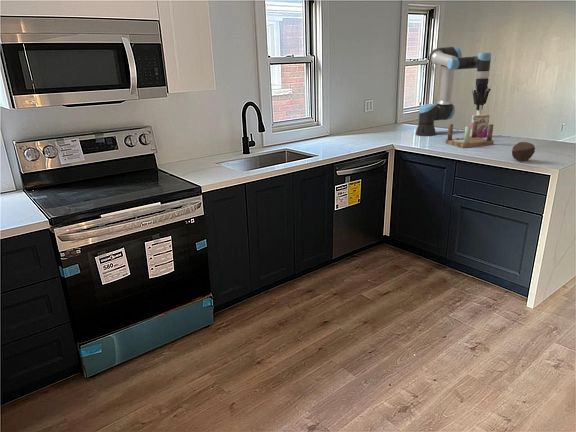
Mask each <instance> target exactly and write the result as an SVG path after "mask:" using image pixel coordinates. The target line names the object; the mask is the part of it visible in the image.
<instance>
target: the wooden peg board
mask: <svg viewBox="0 0 576 432" xmlns="http://www.w3.org/2000/svg"><path fill="white" fill-rule="evenodd" d="M477 124H478V122H477V121H474V122H473V128H472V137H470V136H469V143H460V142H454V140H455V138H453V132H454V123H449V124H448V125H447V126H448V127H447V139H445V143H444V144H447V145H450V146H454V147H457V148H461V149H468V148H476V147H483V146H493V145H494V140H493V132H494V124H491V123H490V124H489V123H488V131H487V137H486V138H484V137H476V134H477ZM458 138H459V140H464V137H458Z"/></svg>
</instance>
